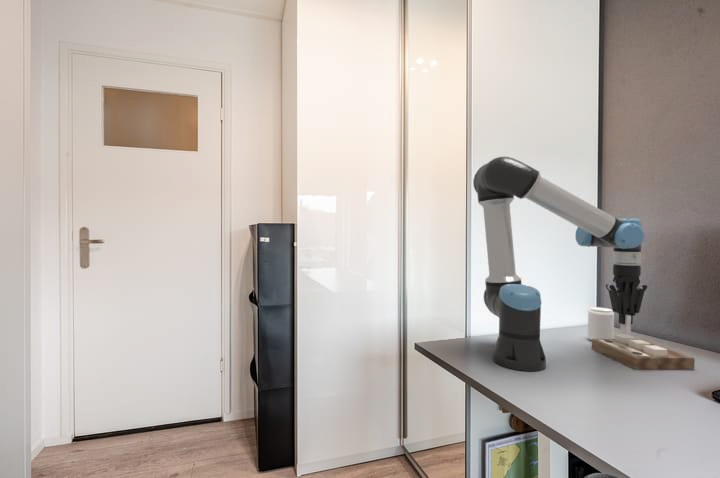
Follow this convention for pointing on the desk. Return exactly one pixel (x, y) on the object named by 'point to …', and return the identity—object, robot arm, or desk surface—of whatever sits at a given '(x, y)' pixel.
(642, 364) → the board
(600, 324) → the white cylindrical container
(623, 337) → the button left
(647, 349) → the button right
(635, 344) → the button mid
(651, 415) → the desk surface
